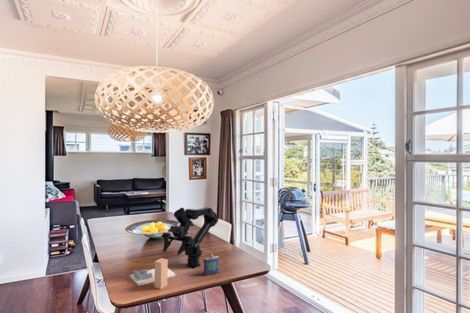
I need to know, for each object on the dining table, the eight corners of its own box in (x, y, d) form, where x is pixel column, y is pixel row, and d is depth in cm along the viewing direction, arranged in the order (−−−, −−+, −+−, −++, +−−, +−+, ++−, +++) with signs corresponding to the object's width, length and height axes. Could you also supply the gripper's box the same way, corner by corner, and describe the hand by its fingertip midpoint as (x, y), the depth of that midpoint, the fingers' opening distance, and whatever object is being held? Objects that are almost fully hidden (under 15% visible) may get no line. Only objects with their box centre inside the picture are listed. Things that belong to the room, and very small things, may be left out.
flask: (217, 271, 166) (217, 252, 166) (220, 273, 164) (220, 253, 163) (203, 274, 161) (203, 255, 161) (205, 276, 159) (205, 256, 159)
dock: (164, 268, 169) (165, 260, 169) (175, 275, 159) (175, 268, 159) (130, 276, 157) (130, 269, 157) (138, 285, 147) (138, 277, 147)
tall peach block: (161, 283, 150) (161, 258, 150) (167, 284, 148) (167, 259, 148) (154, 287, 145) (154, 261, 145) (161, 289, 144) (161, 262, 143)
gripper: (164, 217, 163) (149, 242, 153) (192, 221, 155) (179, 247, 145) (172, 229, 170) (159, 253, 160) (199, 233, 162) (187, 259, 152)
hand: (170, 253), depth 154 cm, fingers open, 9 cm apart
